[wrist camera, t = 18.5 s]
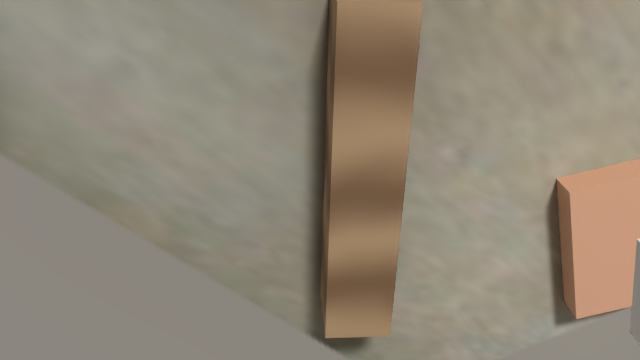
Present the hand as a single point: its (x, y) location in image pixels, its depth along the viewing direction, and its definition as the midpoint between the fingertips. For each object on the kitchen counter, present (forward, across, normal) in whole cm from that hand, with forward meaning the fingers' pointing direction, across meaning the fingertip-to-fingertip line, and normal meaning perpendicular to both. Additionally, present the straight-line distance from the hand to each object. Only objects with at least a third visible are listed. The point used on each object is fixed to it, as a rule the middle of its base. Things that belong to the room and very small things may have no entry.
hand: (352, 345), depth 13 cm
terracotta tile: (+20, +19, -10) cm, 30 cm away
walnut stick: (+22, +2, -7) cm, 23 cm away
